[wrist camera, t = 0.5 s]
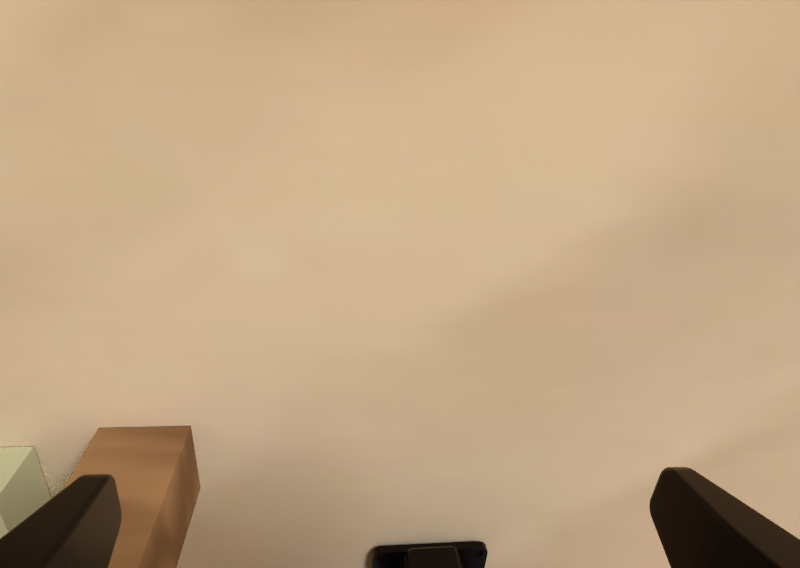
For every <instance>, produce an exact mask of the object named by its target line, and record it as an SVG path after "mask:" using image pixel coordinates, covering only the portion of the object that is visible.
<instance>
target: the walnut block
mask: <svg viewBox="0 0 800 568" xmlns="http://www.w3.org/2000/svg"><path fill="white" fill-rule="evenodd" d="M84 474H111V475H112V476H113V477H114V479H115V481H116V486H117V491H118V496H119V501H120V506H121V511H122V519H121V526H120V530H119V533H118V536H117V540H116V543H115V546H114V550H113V553H112V556H111V560H110V563H109V566H108V568H176V567H177V563H178V560H179V557H180V553H181V550H182V547H183V543H184V540H185V537H186V533H187V530H188V527H189V524H190V520H191V517H192V514H193V510H194V507H195V504H196V500H197V497H198V494H199V490H200V482H199V476H198V470H197V463H196V457H195V450H194V444H193V438H192V431H191V426H160V427H114V428H99V429H98V431H97V433H96V434H95V436H94V438H93V439H92V441H91V443H90V444H89V446H88V448H87V449H86V451H85V453H84V455H83V456H82V458H81V460H80V461H79V463H78V465H77V466H76V468H75V470H74V471H73V473H72V475H71V477H70V478H69V480H68V482H67V483H66V485H65V487H67V486H68V485H69V484H71V483H72V482H73V481H74V480H76V479H77V478H78V477H80V476H82V475H84ZM65 487H64V488H65ZM64 488H63V489H64Z"/></svg>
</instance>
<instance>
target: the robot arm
mask: <svg viewBox="0 0 800 568" xmlns="http://www.w3.org/2000/svg"><path fill="white" fill-rule="evenodd" d="M650 513H651V517H652V519H653V522H654V525H655V527H656V530H657V532H658V535H659V538H660V540H661V543H662V545H663V548H664V550H665V553H666V556H667V558H668V561H669V563H670V566H671V568H800V539H798V538H796V537H795V536H793V535H792V534H790V533H789V532H787V531H786V530H784V529H783V528H781V527H780V526H778V525H777V524H775V523H774V522H772V521H770V520H769V519H767V518H766V517H764V516H763V515H761V514H760V513H758V512H757V511H755V510H754V509H752V508H751V507H749V506H748V505H746V504H745V503H743V502H741V501H740V500H738V499H737V498H735V497H734V496H732V495H731V494H729V493H728V492H726V491H725V490H723V489H722V488H720V487H719V486H717V485H715V484H714V483H712V482H711V481H709V480H708V479H706V478H705V477H703V476H702V475H700V474H699V473H697V472H696V471H694V470H692V469H690V468H687V467H668V468H665V469H664V470H663V471H662V472H661V474H660V476H659V479H658V481H657V484H656V487H655V489H654V492H653V494H652V497H651V499H650ZM121 519H122V511H121V506H120V501H119V496H118V491H117V486H116V481H115V479H114V477H113V476H112V475H111V474H84V475H82V476H80V477H78V478H77V479H76V480H74V481H73V482H72V483H71V484H69V485H68V486H67V487H65V488H64V489H63V490H62V491H60V492H59V493H58V494H56V495H55V496H54V497H53V498H51V499H50V500H49V501H48V502H46V503H45V504H44V505H42V506H41V507H40V508H39V509H37V510H36V511H35V512H33V513H32V514H31V515H30V516H28V517H27V518H26V519H25V520H23V521H22V522H21V523H19V524H18V525H17V526H16V527H14V528H13V529H12V530H10V531H9V532H8V533H7V534H5V535H4V536H3V537H2V538H0V568H108V566H109V563H110V560H111V556H112V553H113V550H114V546H115V543H116V540H117V536H118V533H119V530H120V526H121ZM486 557H487V549H486V545H485V544H484V543H483V542H458V543H438V544H417V545H397V546H380V547H377V548H375V549H374V550H373V552H372V567H371V568H484V567H485V562H486Z"/></svg>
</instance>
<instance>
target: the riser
mask: <svg viewBox="0 0 800 568" xmlns="http://www.w3.org/2000/svg"><path fill="white" fill-rule="evenodd" d="M50 499H51V496H50V493H49V490H48V487H47V484H46V481H45V478H44V476H43V473H42V470H41V467H40V464H39V461H38V458H37V455H36V452H35V449H34V447H3V448H0V538H2V537H3V536H4V535H5V534H7V533H8V532H9V531H10V530H12V529H13V528H14V527H16V526H17V525H18V524H19V523H21V522H22V521H23V520H25V519H26V518H27V517H28V516H30V515H31V514H32V513H33V512H35V511H36V510H37V509H39V508H40V507H41V506H42V505H44V504H45V503H46V502H48V501H49V500H50Z"/></svg>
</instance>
